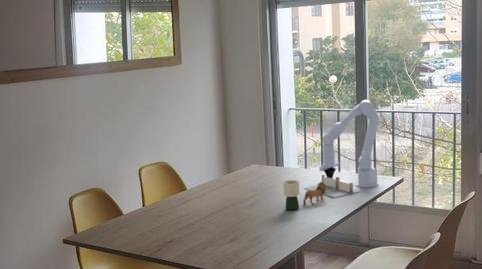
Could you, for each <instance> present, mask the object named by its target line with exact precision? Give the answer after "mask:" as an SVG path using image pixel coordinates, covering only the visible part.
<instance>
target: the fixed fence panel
mask: <svg viewBox="0 0 482 269" xmlns="http://www.w3.org/2000/svg"><path fill="white" fill-rule="evenodd" d="M335 179H336V189H340V190H344V191H347V192H350V193H353V190H354V183H353V182H347V181H344V180H341V178H340V176H335Z"/></svg>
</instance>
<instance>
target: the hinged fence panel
mask: <svg viewBox="0 0 482 269" xmlns="http://www.w3.org/2000/svg"><path fill="white" fill-rule="evenodd" d="M325 175H326V174H321V182H324V183H325V185H328V186H332V187H336V178H334V177H333V178H329V177H327V176H325Z"/></svg>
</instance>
